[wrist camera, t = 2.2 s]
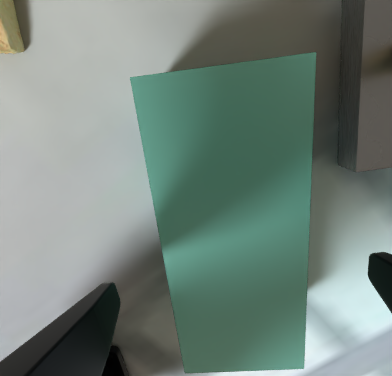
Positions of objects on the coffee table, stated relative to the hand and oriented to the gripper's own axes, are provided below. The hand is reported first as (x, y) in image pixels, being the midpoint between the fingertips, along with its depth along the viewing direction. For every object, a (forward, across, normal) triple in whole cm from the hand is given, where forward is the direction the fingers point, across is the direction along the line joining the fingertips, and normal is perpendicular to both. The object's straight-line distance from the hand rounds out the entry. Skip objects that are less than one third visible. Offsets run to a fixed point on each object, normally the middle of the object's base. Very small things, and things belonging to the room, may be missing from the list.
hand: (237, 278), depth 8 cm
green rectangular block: (+6, 0, 0) cm, 6 cm away
